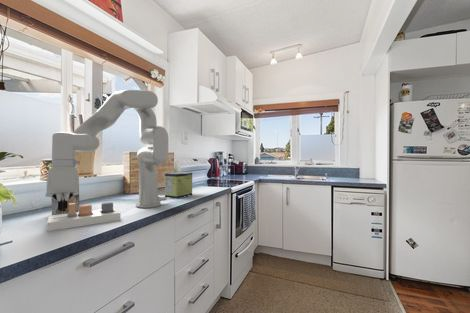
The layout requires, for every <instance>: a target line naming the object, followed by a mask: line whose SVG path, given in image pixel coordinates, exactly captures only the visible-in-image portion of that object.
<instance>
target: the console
mask: <svg viewBox="0 0 470 313" xmlns="http://www.w3.org/2000/svg"><path fill="white" fill-rule="evenodd" d="M76 213H77V216H74V217H67V214H60V215H52V214H51V215H48V218H47V232H53V231H58V230H59V231H60V230H64V229H65V230H66V229H69V228H71V229H72V228H78V227H83V226H91V225H96V224H97V225H98V224H103V223H109V222H116V221H121V212H120V211H119V210H118V209H117V208H116V207H113V212H110V213H102V208H101V209H93V210H92V215H87V216H80V217H79V211H76Z"/></svg>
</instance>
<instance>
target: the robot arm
mask: <svg viewBox="0 0 470 313" xmlns="http://www.w3.org/2000/svg"><path fill="white" fill-rule="evenodd" d="M158 102H159V98H158V96H157V94H156V93H155V92H154V91H153V90H143V89H123V90H118V91H114V92H113V93H112V94H110V96H109V97H108V98H107V99H106V100H105V101H104V102H103V104H102V105H101V106H100V107H99V108H98V109H97V110H96V111H95V113H93V114H92V115H91V116H89V117H88V118H87V119H85V121H84V120H83V122H82V123H80V125H78V127H77V128H76V129H75V130H74V131H73V132H68V131H67V132H65V131H58V132H54V133H53V134H52V135H51V137H52V140H51V142H52V144H51V167H49V168H48V169H47V170H48V172H47V178H46V192H45V197H48V198H52V197H53V198H55V199H56V200H57V201H58V209H60V212H62V206H63V211H65V209H67V201H68V200H69V199H70V198H71V197H72V196H75V195H79V196H80V178H79V177H80V176H79V169H78V167H76V166H77V165H80V164H81V163H80V160H77V158H76V157H77V156H76V153H77V152H78V153H79V152H80V153H81V152H82V153H91V152H94V151H96V150H97V149H98V148H99V146H100V140H99V138H98V137H97V136H96V135H98V134H99V133H100V132H102V131H104V130H106V129H108V128H110V127H112V126H113V125H115V123H116V122H117V121H118V120H119V118H120V117H121V116H122V114H123V113H124V112H125V111H126V110H128V109H133V110H134V111H135V112H136V114H137V115H138V119H139V139H140V140H139V141H141V143H142V144H143V145H149V146H145V147H142V148H140V149H139V150H138V152H137V154H136V160H137V164H138V202H136V203H135V207H136V208H138V209H139V208H141V209H149V208H151V209H152V208H156V207H160V206H161V202H162V201H163V202H164V201H167V199H168V198H167V197H165V196H163V197H162V196H158V195H159V193H158V190H159V189H158V188H159V186H158V185H159V184H158V182H159V179H158V177H159V175H158V174H159V173H158V169H157V166H162V165H165V164H166V163H167V161H168V159H169V134H168V131H167V129H166V128H165V127H164V126H160V125H157V124H158V123H157V116H156V113H155V112H154V110H153V108H155V107H156V106H157V105H158ZM150 145H151V146H150ZM78 189H79V190H78ZM72 192H73V193H72ZM60 193H66V194H65V198H64V200H62V199H61V195H60Z"/></svg>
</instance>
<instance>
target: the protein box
mask: <svg viewBox="0 0 470 313" xmlns="http://www.w3.org/2000/svg"><path fill="white" fill-rule="evenodd" d="M188 195H191V196H193V172H188V171H187V172H185V171H178V172H167V173H165V174H164V197H166V198H167V197H170V198H169V199H175V198H177V199H180V198H179V197H182V198H185V197H184V196H186V197H189V196H188Z"/></svg>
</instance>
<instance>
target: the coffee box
mask: <svg viewBox="0 0 470 313" xmlns="http://www.w3.org/2000/svg"><path fill="white" fill-rule="evenodd" d="M78 190H79V191H80V188H79V189H78ZM72 193H73V192H72ZM65 194H66V193H60V195H61V199H62V200H64V198H65ZM69 203H75V212H79V206H80V194H79V195H75V196H72V197H71V198H70V199H69V200H68V201H67V209H65V211H63V206H62V212H60V209H58V201H57V200H56V199H55V198H53V197H51V216H52V215H60V214H67V213H69Z"/></svg>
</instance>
